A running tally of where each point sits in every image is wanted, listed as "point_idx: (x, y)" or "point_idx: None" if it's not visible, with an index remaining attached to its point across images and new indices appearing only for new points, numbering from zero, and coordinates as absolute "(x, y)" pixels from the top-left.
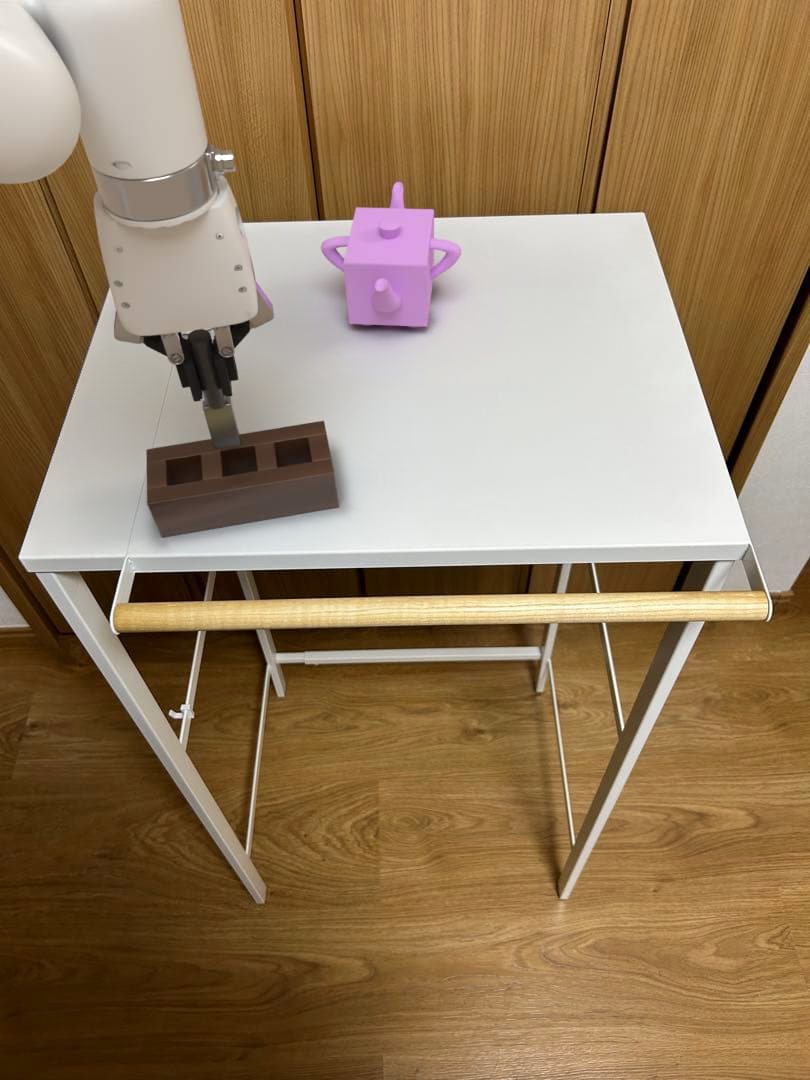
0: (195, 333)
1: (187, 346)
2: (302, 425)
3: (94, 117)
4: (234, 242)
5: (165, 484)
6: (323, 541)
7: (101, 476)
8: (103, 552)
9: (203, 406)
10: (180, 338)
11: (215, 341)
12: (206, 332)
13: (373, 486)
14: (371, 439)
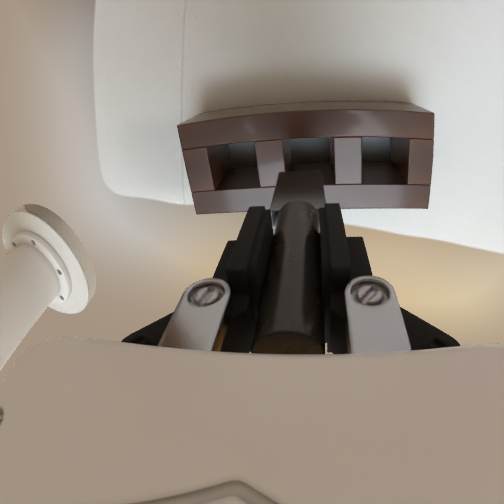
0: (276, 345)
1: (250, 331)
2: (404, 113)
3: None
4: None
5: (212, 188)
6: (384, 220)
7: (135, 101)
8: (162, 198)
9: (273, 226)
10: (227, 330)
11: (334, 332)
12: (312, 349)
13: (448, 163)
14: (459, 93)
